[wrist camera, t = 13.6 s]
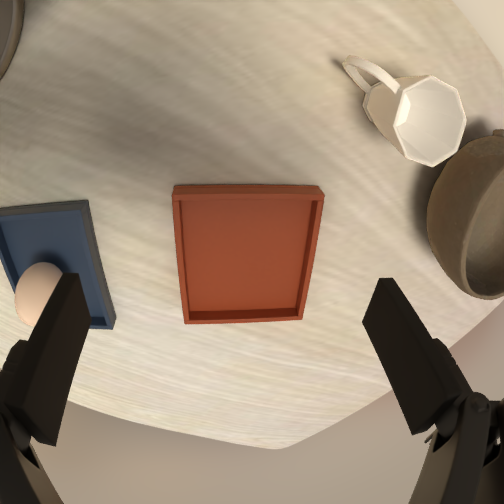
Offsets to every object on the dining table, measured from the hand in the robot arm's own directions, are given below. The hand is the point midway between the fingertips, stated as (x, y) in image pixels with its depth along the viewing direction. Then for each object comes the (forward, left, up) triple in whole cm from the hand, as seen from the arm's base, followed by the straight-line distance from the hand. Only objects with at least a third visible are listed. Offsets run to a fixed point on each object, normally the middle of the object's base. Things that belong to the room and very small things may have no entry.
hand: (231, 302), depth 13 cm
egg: (+10, -19, -17) cm, 27 cm away
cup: (-8, +13, -17) cm, 23 cm away
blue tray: (+10, -19, -17) cm, 27 cm away
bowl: (+1, +28, -17) cm, 33 cm away
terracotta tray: (+9, +2, -17) cm, 19 cm away
